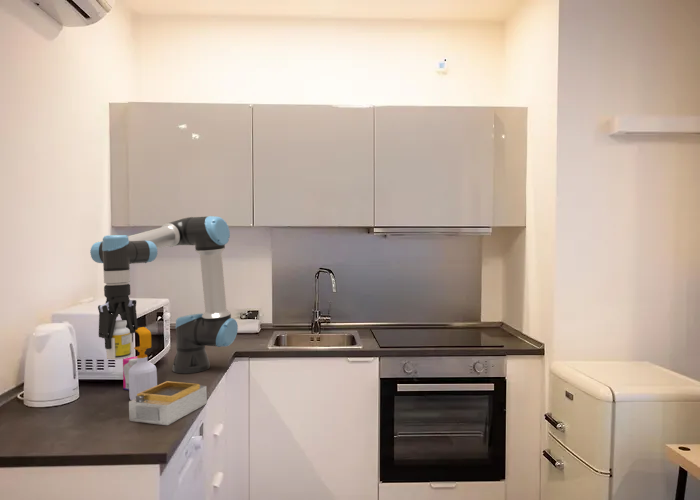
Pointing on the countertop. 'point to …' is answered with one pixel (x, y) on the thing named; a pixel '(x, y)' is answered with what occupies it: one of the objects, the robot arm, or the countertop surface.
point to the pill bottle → (121, 340)
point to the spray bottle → (142, 367)
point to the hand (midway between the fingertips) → (119, 355)
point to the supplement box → (127, 370)
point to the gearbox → (167, 402)
